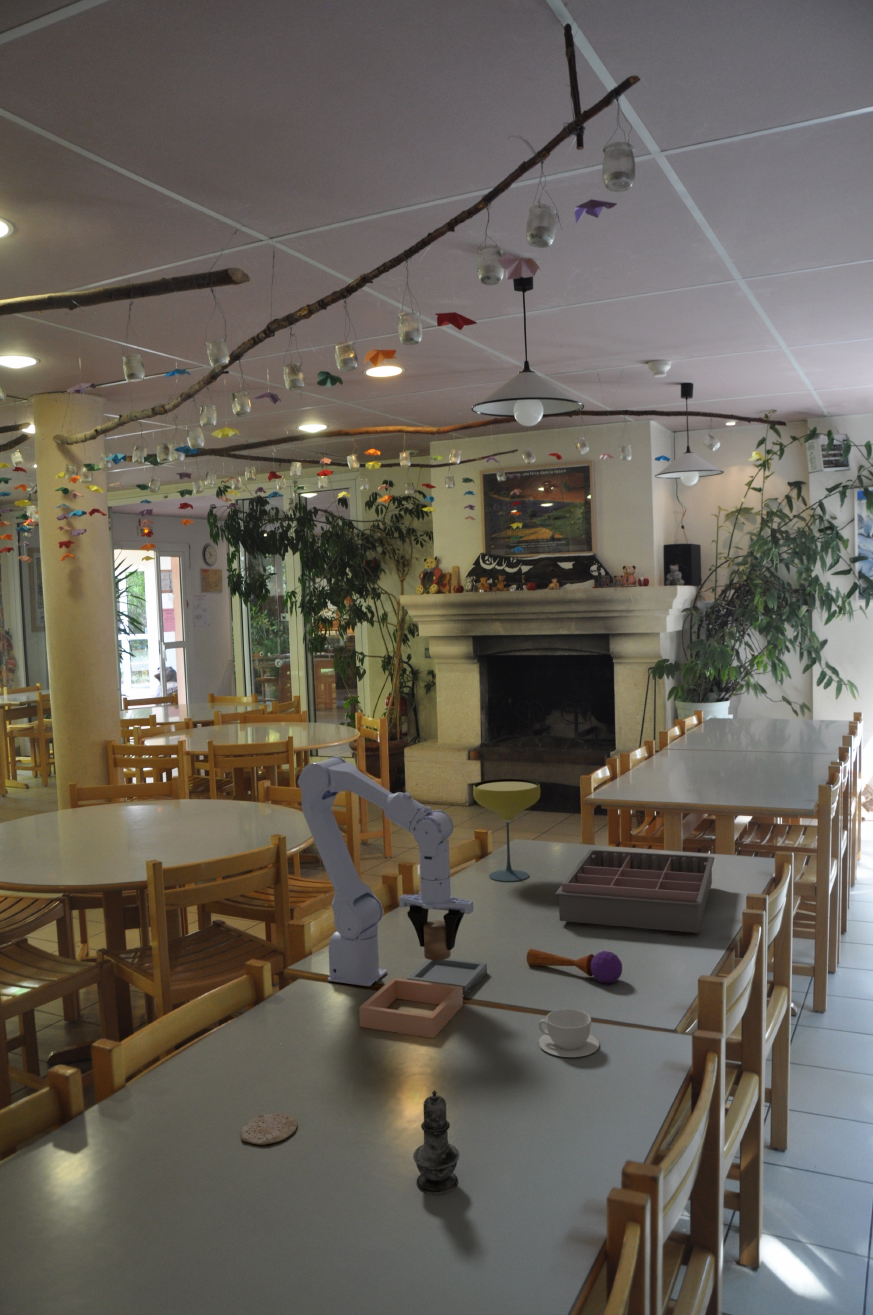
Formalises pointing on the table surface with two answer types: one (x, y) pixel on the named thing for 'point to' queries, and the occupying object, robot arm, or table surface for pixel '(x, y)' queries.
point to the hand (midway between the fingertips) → (437, 946)
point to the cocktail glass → (507, 811)
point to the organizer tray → (637, 890)
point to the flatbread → (268, 1128)
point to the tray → (451, 973)
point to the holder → (409, 1022)
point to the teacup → (568, 1034)
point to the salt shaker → (436, 1150)
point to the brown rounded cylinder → (435, 940)
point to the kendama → (582, 964)
